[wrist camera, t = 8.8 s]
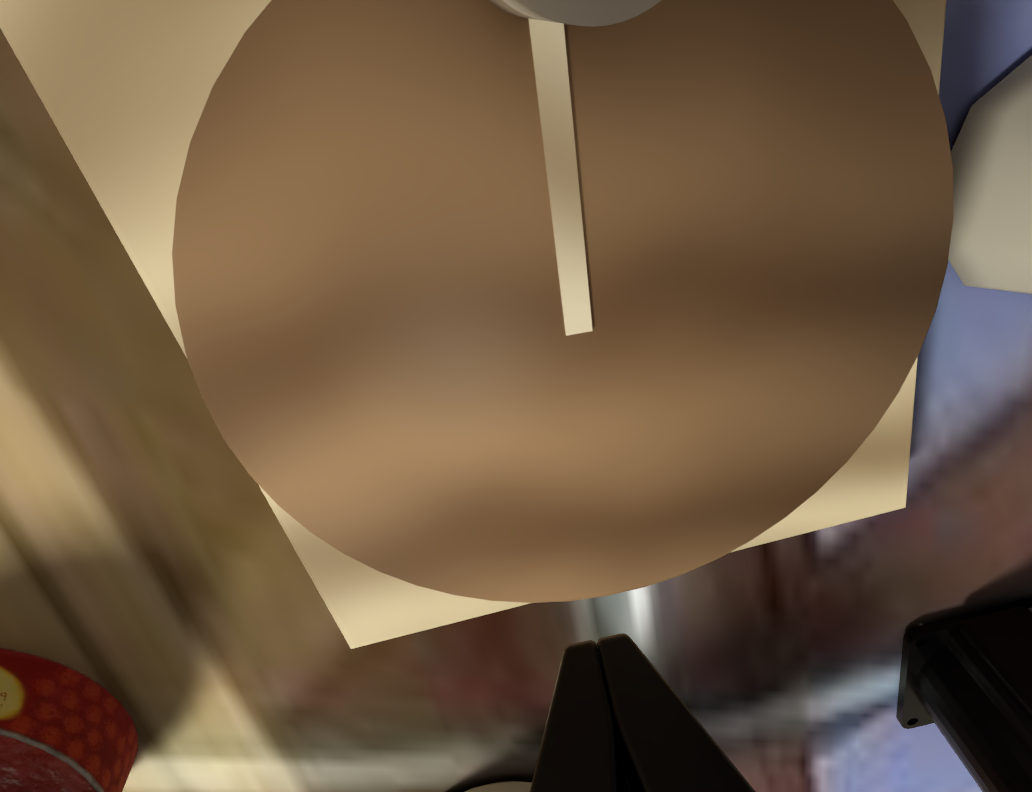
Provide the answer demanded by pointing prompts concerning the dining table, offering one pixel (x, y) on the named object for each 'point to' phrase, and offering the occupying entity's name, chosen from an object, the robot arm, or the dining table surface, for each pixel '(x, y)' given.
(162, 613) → the dining table surface
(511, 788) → the travel mug
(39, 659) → the dark red handled pot
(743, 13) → the knobbed disc on base
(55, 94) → the stand
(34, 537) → the dining table surface
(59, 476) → the dining table surface
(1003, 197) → the flask
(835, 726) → the dining table surface
